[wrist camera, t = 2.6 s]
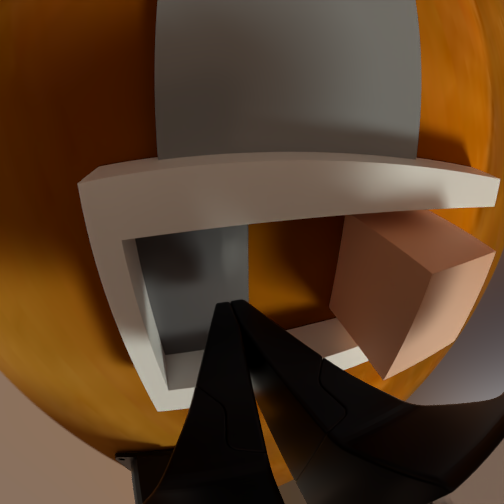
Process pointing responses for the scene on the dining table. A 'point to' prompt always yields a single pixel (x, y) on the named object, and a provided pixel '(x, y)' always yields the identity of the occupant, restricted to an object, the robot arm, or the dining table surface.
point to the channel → (233, 240)
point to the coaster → (287, 77)
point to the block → (405, 284)
